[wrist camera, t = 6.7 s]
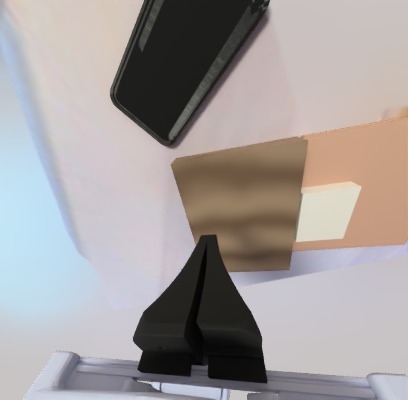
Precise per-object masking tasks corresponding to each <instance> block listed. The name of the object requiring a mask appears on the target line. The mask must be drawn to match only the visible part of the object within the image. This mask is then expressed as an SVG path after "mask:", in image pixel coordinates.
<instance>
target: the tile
mask: <svg viewBox="0 0 408 400" xmlns="http://www.w3.org/2000/svg"><path fill="white" fill-rule="evenodd" d="M360 190H361V186H359V185H357V184H355V183H354V182H352V181H350V182H343V183H335V184H328V185H320V186H312V187H305V188H301V194H300V200H299V207H298V214H297V220H296V227H295V234H294V240H295V241H296V242H303V241H317V240H330V239H343V237H344V234H345V231H346V229H347V226H348V223H349V220H350V218H351V215H352V212H353V209H354V207H355V204H356V201H357V198H358V196H359V193H360Z"/></svg>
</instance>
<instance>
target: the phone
mask: <svg viewBox="0 0 408 400" xmlns="http://www.w3.org/2000/svg"><path fill="white" fill-rule="evenodd" d="M269 2H270V0H144V3H143V5H142V8H141V10H140V13H139V16H138V18H137V21H136V24H135V26H134V29H133V31H132V34H131V37H130V39H129V42H128V44H127V47H126V50H125V52H124V55H123V58H122V60H121V63H120V65H119V68H118V71H117V73H116V76H115V78H114V81H113V84H112V86H111V89H110V97H111V100H112V102H113V104H114V105H115V106H116V107H117V108H118V109H119V110H120V111H122V112H123V113H124V114H125V115H126V116H128V117H129V118H130V119H131V120H133V121H134V122H135V123H136V124H137V125H139V126H140V127H141V128H142V129H143V130H145V131H146V132H147V133H148V134H150V135H151V136H152V137H153V138H154V139H156V140H157V141H158V142H159V143H161V144H162V145H165V146H170V145H172V144H173V143H174V142H175V141H176V140H177V139H178V137H179V136H180V134H181V133H182V131H183V130H184V129H185V127H186V126H187V124H188V123H189V121H190V120H191V119H192V117H193V116H194V114H195V113H196V111H197V110H198V109H199V107H200V106H201V104H202V103H203V101H204V100H205V99H206V97H207V96H208V94H209V93H210V91H211V90H212V88H213V87H214V86H215V84H216V83H217V81H218V80H219V78H220V77H221V76H222V74H223V73H224V71H225V70H226V68H227V67H228V66H229V64H230V63H231V61H232V60H233V58H234V57H235V56H236V54H237V53H238V51H239V50H240V48H241V47H242V46H243V44H244V43H245V41H246V40H247V38H248V37H249V36H250V34H251V33H252V31H253V30H254V28H255V27H256V26H257V24H258V23H259V21H260V20H261V18H262V17H263V15H264V13H265V11H266V9H267V7H268V5H269Z"/></svg>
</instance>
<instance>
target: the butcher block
mask: <svg viewBox="0 0 408 400" xmlns="http://www.w3.org/2000/svg"><path fill="white" fill-rule="evenodd" d="M307 147H308V140H305V139H302V138H299V137H292V138H287V139H281V140H276V141H270V142H264V143H259V144H253V145H248V146H242V147H237V148H231V149H226V150H220V151H215V152H209V153H204V154H198V155H192V156H187V157H181V158H176V159H175V160H174V161H173V162H172V164H171V167H172V170H173V174H174V177H175V180H176V183H177V186H178V190H179V193H180V196H181V199H182V202H183V206H184V209H185V212H186V215H187V218H188V222H189V225H190V228H191V231H192V234H193V238H194V241H195V244H196V245H197V243H198V241H199V238H200V236H201V235H212V234H216V235H217V240H218V245H219V251H220V254H221V257H222V260H223V262H224V265H225V267H226V269H227V272H248V271H274V270H289V267H290V261H291V254H292V247H293V240H294V234H295V227H296V220H297V214H298V207H299V200H300V194H301V187H302V180H303V174H304V167H305V160H306V154H307Z"/></svg>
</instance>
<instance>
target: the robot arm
mask: <svg viewBox="0 0 408 400" xmlns="http://www.w3.org/2000/svg"><path fill="white" fill-rule="evenodd" d="M133 341H134V343H135V344H136V345H137V346H138V347H139V348H140V349H141V350H143V352H142V356H141V359H140V361H131V360H118V359H103V358H91V357H80V356H79V355H78V354H76V353H73V352H66V351H56V352H54V354H53V355H52V357H51V358H50V360H49V361H48V363H47V364H46V366H45V367H44V369H43V370H42V372H41V373H40V375H39V376H38V377H37V379H36V380H35V382H34V383H33V385H32V386H31V388H30V389H29V391H28V392H27V393H26V395H25V396H24V398H23V399H22V400H229V397H230V389H232V390H242V391H252V392H263V393H249V394H248V395H247V399H248V400H408V376H406V375H405V374H390V373H371V374H369V375H367V377H366V378H362V377H349V376H335V375H321V374H308V373H295V372H294V373H293V372H281V371H280V372H279V371H267V370H266V369H265V364H264V356H263V351H262V336H261V333H260V330H259V328H258V326H257V324H256V322H255V319H254V317H253V315H252V313H251V311H250V310H249V308H248V307H247V305H246V304H245V302H244V301H243V299H242V297H241V296H240V294H239V292H238V291H237V289H236V287H235V285H234V283H233V282H232V280H231V278H230V276H229V274H228V272H227V269H226V267H225V265H224V262H223V260H222V257H221V254H220V251H219V245H218V240H217V235H216V234H212V235H201V236H200V238H199V241H198V243H197V245H196V247H195V249H194V251H193V253H192V254H191V256H190V258H189V259H188V261H187V263H186V264H185V266H184V267H183V269H182V270H179V274H178V276H177V277H176V278H175V280H174V281H173V282H172V283H171V284H170V286H169V287H168V288H167V289H166V290H165V291H164V292H163V293H162V294H161V295H160V297H159V298H158V299H157V300H156V301H155V302H153V303H152V304H151V305H150V306H149V307H148V308H147V309H146V310H145V311H144V312H143V315H142V317H141V318H140V321H139V323H138V326H137V328H136V331H135V334H134V337H133ZM137 380H139V381H149V382H153V387H152V385H151V384H147V383H143V382H138V381H137ZM277 394H278V395H277Z"/></svg>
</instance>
